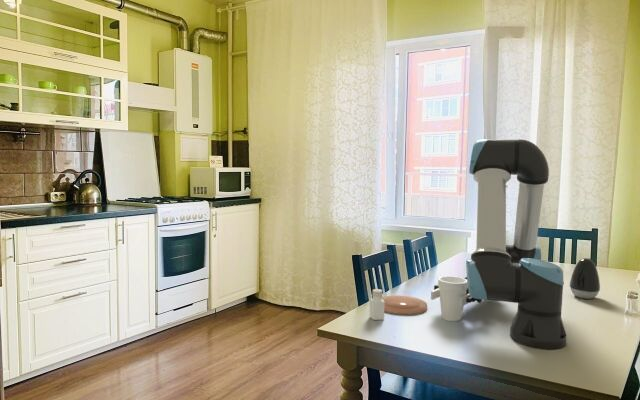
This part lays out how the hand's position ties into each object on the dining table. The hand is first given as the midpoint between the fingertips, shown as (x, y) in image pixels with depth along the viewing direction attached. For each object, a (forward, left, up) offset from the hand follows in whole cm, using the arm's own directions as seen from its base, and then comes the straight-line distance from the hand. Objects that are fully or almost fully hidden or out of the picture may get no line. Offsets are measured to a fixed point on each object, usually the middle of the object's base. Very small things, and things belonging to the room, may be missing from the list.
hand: (446, 298), depth 151 cm
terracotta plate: (+14, +12, -8) cm, 20 cm away
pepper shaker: (+1, +22, -8) cm, 24 cm away
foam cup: (+3, -3, -8) cm, 9 cm away
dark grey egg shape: (+30, -61, -8) cm, 69 cm away
